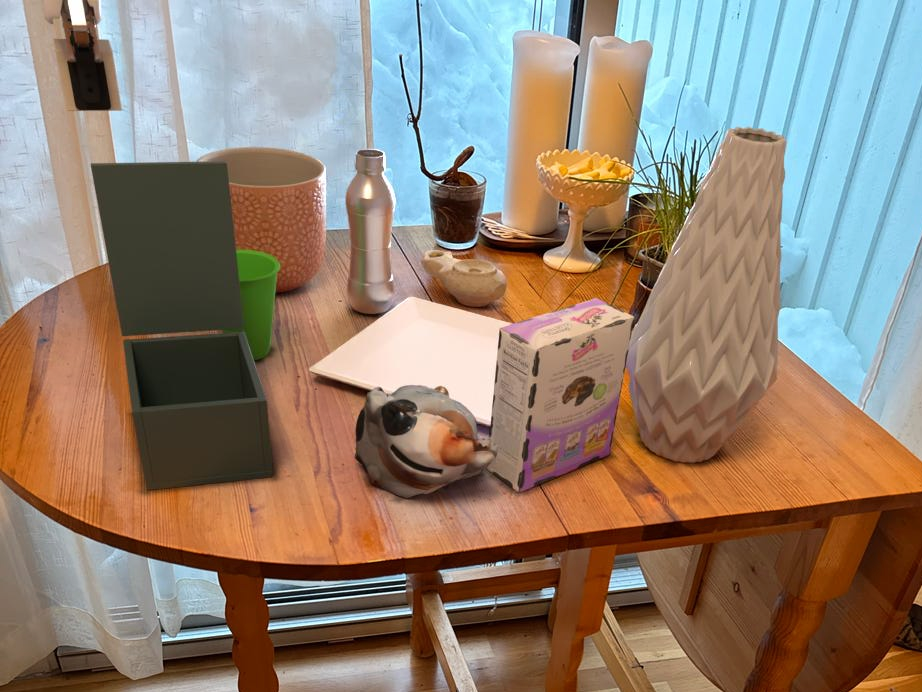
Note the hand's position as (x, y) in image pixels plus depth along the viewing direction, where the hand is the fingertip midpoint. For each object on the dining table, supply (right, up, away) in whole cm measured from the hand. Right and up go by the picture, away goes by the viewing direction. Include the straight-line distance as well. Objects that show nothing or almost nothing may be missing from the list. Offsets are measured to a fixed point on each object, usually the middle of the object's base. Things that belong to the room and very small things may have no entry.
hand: (91, 99), depth 92 cm
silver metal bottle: (+23, -7, +39) cm, 45 cm away
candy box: (+45, -33, +13) cm, 58 cm away
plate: (+34, -19, +27) cm, 48 cm away
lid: (+7, -13, +4) cm, 15 cm away
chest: (+8, -32, +10) cm, 34 cm away
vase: (+61, -30, +18) cm, 70 cm away
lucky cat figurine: (+32, -35, +9) cm, 49 cm away
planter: (+8, -1, +43) cm, 44 cm away
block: (0, 0, 0) cm, 0 cm away
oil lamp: (+35, -3, +45) cm, 57 cm away
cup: (+9, -17, +27) cm, 33 cm away
